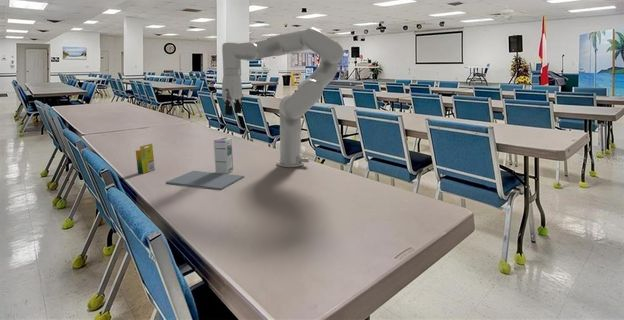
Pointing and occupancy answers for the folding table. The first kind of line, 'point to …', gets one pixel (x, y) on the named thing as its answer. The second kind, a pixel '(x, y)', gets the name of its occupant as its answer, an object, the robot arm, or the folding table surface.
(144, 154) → the crayon box
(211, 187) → the mat
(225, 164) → the syrup box
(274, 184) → the folding table surface
